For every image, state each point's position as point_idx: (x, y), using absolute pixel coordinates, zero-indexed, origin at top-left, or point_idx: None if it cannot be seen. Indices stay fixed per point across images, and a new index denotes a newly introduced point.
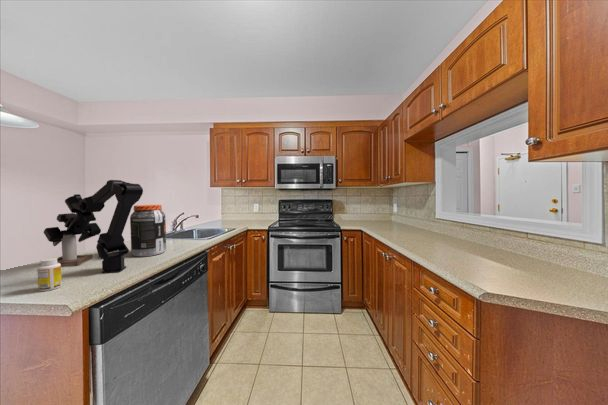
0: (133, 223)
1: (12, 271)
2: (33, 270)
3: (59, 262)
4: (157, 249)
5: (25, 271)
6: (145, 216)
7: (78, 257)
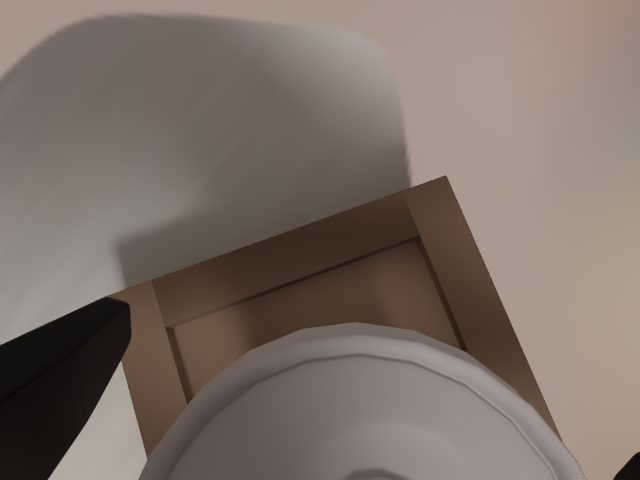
0: None
1: (26, 106)
2: (50, 280)
3: None
4: None
5: (20, 233)
6: None
7: None
